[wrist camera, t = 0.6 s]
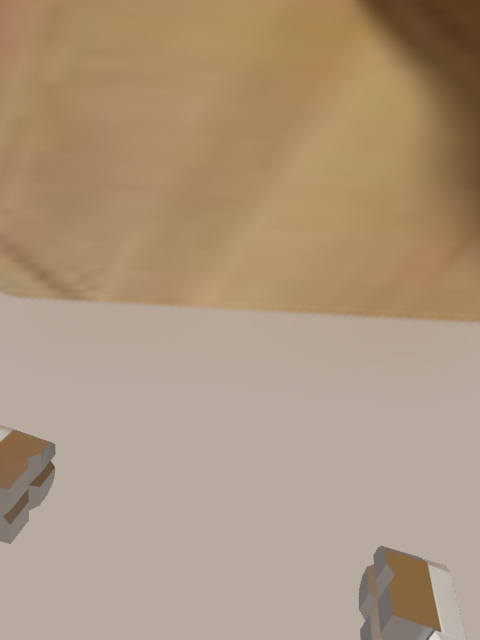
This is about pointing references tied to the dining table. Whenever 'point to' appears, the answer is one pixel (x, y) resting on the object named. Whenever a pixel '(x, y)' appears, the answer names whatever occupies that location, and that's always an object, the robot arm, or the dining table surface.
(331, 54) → the dining table surface
